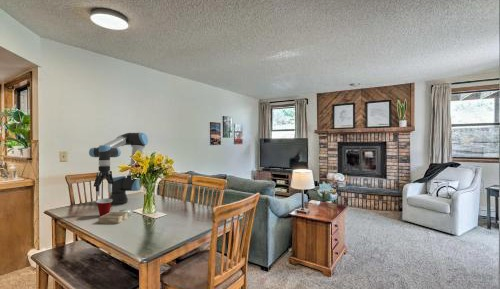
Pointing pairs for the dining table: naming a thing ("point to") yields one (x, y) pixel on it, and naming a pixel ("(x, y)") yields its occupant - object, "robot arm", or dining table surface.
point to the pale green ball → (126, 211)
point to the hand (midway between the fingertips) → (104, 194)
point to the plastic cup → (104, 206)
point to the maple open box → (113, 217)
